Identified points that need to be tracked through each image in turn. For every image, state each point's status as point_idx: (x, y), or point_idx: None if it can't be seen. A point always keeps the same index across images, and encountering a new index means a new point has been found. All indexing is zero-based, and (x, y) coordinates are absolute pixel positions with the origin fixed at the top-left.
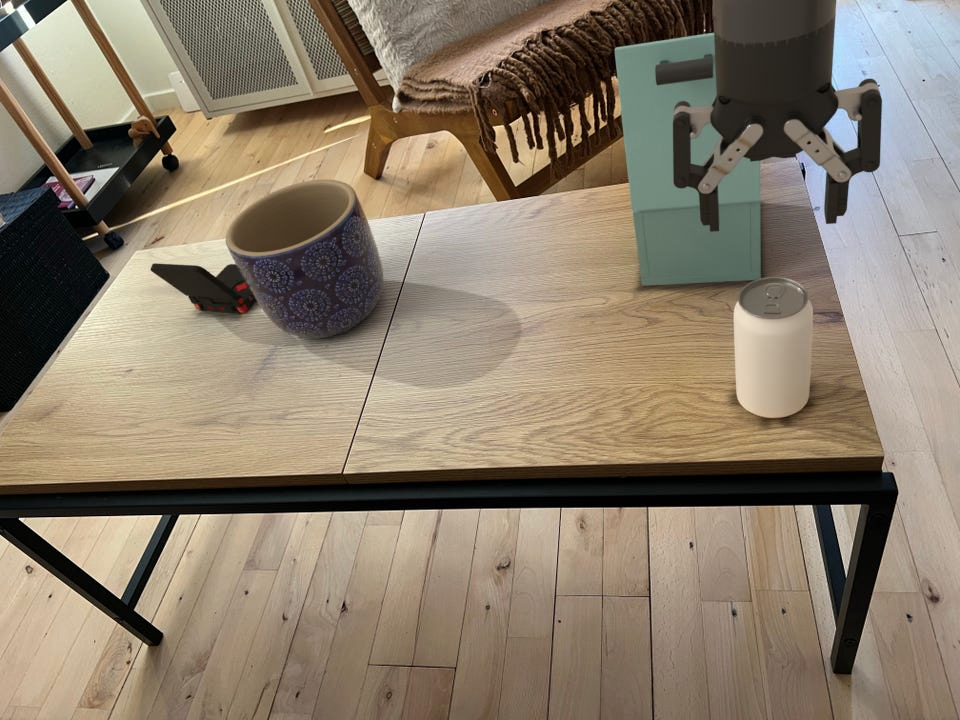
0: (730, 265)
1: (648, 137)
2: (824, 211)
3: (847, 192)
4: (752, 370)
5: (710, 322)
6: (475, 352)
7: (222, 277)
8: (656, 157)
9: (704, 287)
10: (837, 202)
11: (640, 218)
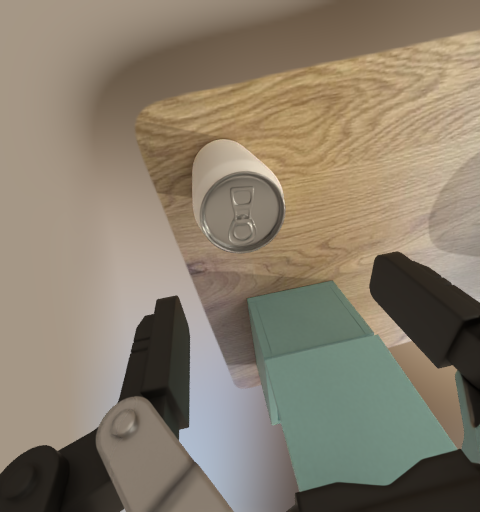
0: (272, 304)
1: (405, 418)
2: (188, 327)
3: (128, 368)
4: (247, 151)
5: (280, 250)
6: (470, 188)
7: None
8: (383, 393)
9: (286, 285)
10: (150, 338)
11: (364, 329)
